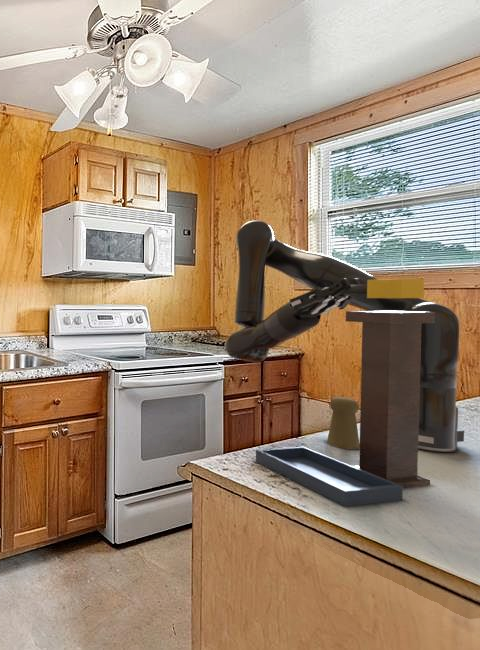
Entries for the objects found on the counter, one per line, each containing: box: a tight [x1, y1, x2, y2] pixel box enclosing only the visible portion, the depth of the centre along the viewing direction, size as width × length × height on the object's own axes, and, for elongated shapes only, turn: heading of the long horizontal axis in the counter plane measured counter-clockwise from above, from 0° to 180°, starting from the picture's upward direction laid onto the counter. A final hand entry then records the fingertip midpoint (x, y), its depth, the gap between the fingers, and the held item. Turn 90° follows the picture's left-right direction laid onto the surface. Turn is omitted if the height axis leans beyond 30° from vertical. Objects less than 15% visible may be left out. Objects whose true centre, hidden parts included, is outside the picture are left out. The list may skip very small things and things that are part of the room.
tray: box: [255, 445, 404, 507], centre depth 81 cm, size 12×20×2 cm, turn 10°
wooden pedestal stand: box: [345, 310, 435, 489], centre depth 81 cm, size 10×8×32 cm
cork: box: [326, 396, 360, 450], centre depth 100 cm, size 6×6×11 cm
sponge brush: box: [339, 278, 425, 299], centre depth 84 cm, size 5×16×4 cm, turn 10°
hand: (352, 282), depth 87 cm, fingers closed on sponge brush, 2 cm apart
